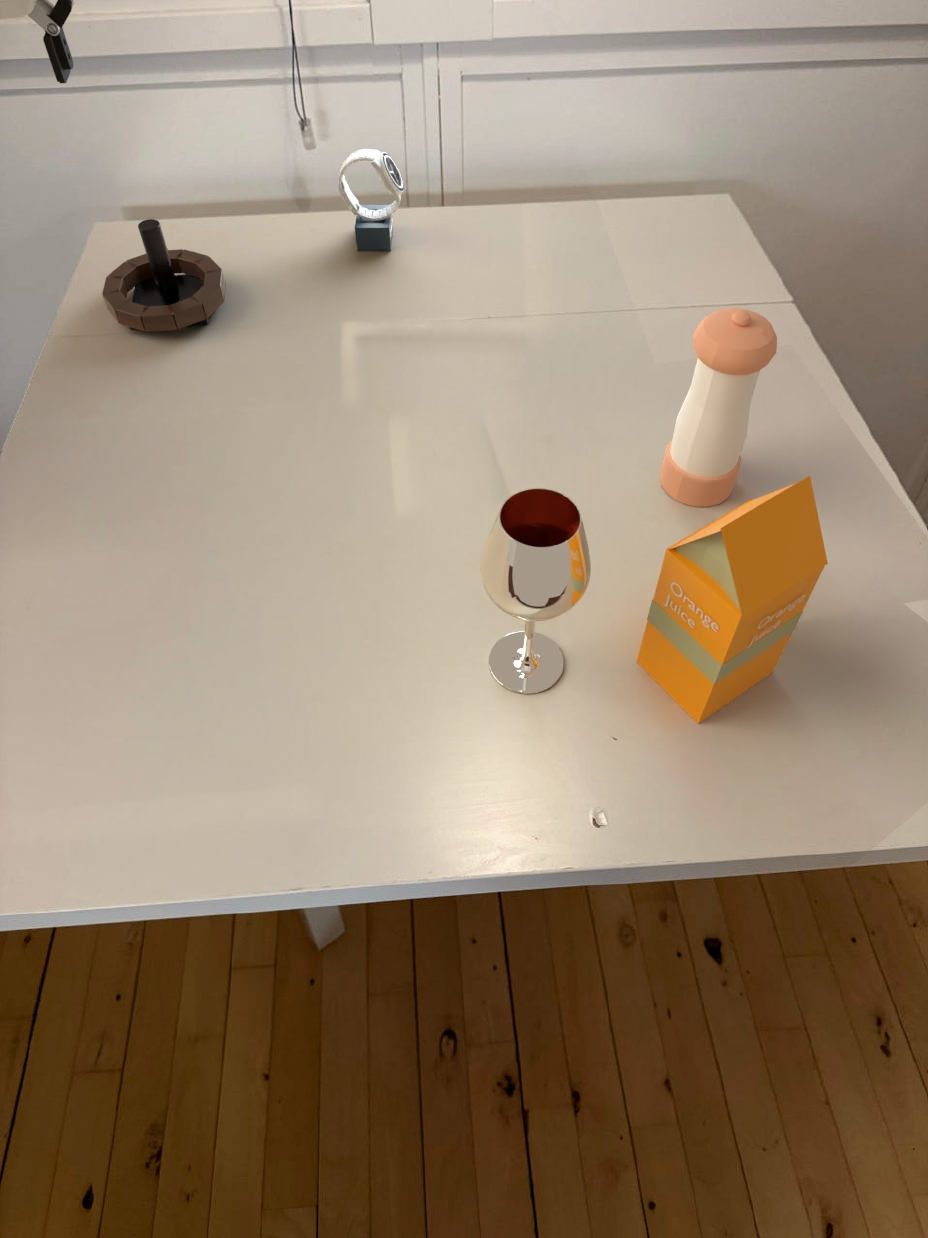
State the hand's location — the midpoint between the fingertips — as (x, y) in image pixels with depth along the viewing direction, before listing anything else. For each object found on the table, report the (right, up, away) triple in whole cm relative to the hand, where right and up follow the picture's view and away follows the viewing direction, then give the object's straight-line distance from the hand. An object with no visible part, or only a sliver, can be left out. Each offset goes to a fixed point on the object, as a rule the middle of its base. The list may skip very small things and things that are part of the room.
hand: (13, 79), depth 86 cm
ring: (+8, -13, +22) cm, 26 cm away
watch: (+32, -2, +31) cm, 45 cm away
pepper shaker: (+66, -38, +4) cm, 76 cm away
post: (+8, -14, +23) cm, 28 cm away
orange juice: (+63, -56, -9) cm, 85 cm away
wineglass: (+48, -55, -9) cm, 74 cm away
